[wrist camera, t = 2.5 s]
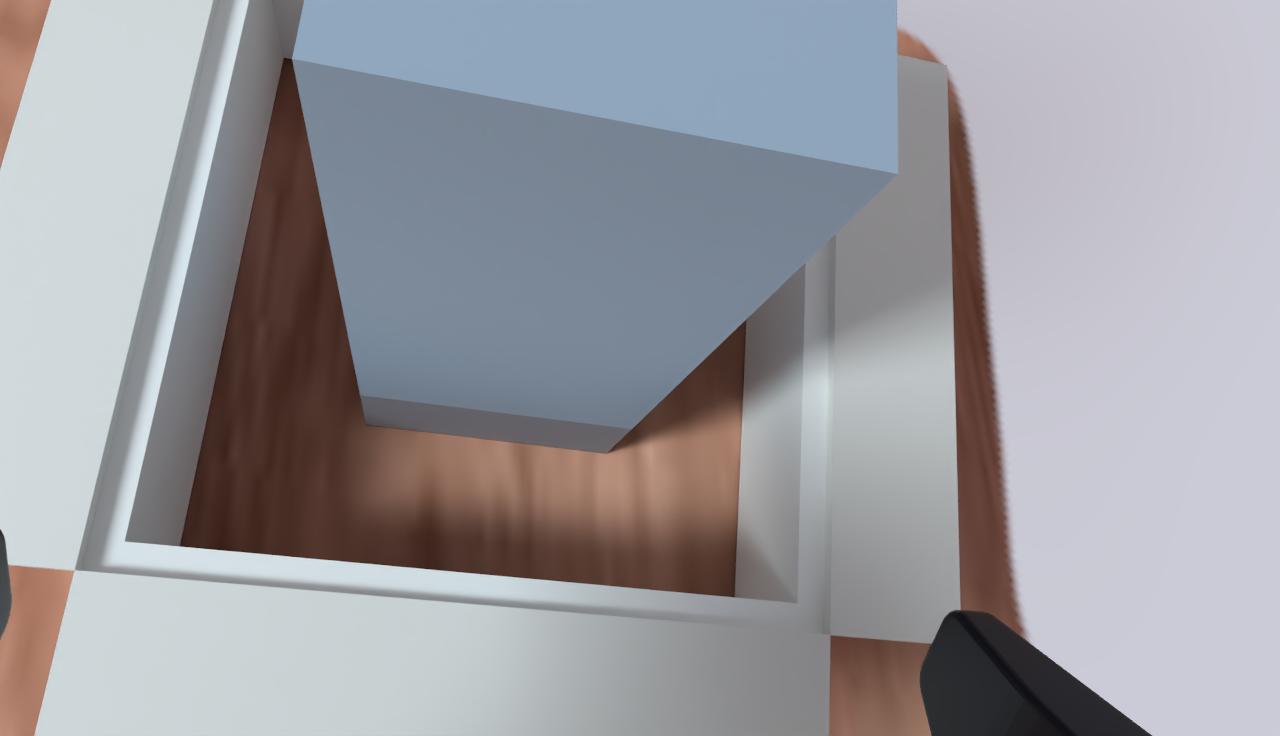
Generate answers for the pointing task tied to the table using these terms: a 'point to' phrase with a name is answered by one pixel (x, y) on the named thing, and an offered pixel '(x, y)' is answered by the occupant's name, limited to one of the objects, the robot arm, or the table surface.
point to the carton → (411, 597)
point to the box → (578, 191)
